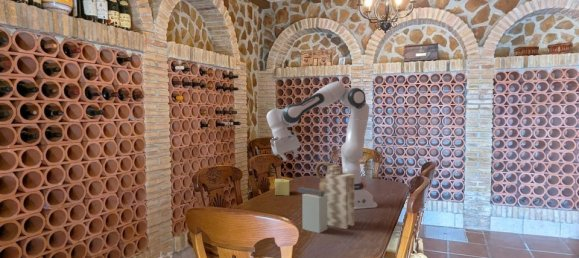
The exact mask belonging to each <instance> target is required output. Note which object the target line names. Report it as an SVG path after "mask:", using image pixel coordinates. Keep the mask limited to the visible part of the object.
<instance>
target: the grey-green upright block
mask: <svg viewBox="0 0 579 258" xmlns="http://www.w3.org/2000/svg"><path fill="white" fill-rule="evenodd" d="M301 195H302V197H301V198H302V199H301V200H302V206H301V208H302V209H301V210H302V212H301V213H302V215H301V216H302V217H301V218H302V224H301V225H302V226H301V227H302V230H305V231H310V232H313V233H318V234H320V233H321V234H322V233H323V232H325V231H326V230H328V225H327V195H323V196H317V195H311V194H306V193H302V194H301Z"/></svg>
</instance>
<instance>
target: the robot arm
mask: <svg viewBox="0 0 579 258" xmlns="http://www.w3.org/2000/svg"><path fill="white" fill-rule="evenodd" d="M337 101H338V103H340V105H343V106H346V107H350V113H349V115H350V116H349V119H348V124H347V127H346V135H345V136H346V137H345V142H344V143H343V144H342V146H341V149H340V150H341V151H340V152H341V155H340V156H341V166H342V168H341V171H342V172H341V173H349V174H354V210H359V209H360V210H361V209H370V208H371V209H372V208H377V207H378V203H377V202H375V201H374V197H373V195H372V193H370V192H369V191H368V190H366V189H365V188H366V187H367V184H365V183H363V182H361V181H362V180H361V178H362V175H361V173H362V172H361V170H362V169H361V163H360V161H361V160H360V159H361V158H362V157H363V154H364V147H365V146H364V145H365V136H366V132H367V126H368V121H369V115H370V106H369V105H368V103H367V100H366V93H365V91H364V90H363V89H361V88H359V87H345V85H344V84H343V82H341V81H333V82H330V83H328V84H327V85H324V86H322V87H321V88H320V89H318V90H317V91H315V93H313V95H311V96H310V97H309V96H308V98H306V99H304V100H302V101H299V102H298V103H291V104H287V105H286V106H285V107H284V108H283V109H282V108H278V107H275V108H272V109H270V110H269V111H268V112H266V121H267V124H268V127H269V129H270V130H271V134H272V136H273V137H272V138H271V139H270V147H271V150H272V153H273V155H275V156H277V155H279V157H280V158H282V160H283V162H287V161H288V157H287V156H285V153H288V152H291V151H292V152H293V157H294V158H295V159H296V158H298V157H299V154H298V149H299V148H300V147H301V143H300V141H299V138H298V136H297V135H296V134H297V133H296V131H293V130H290V129H288V128H291V127H294V126H296V125H297V124H298V122H299V121H300V120H301V118H302V117H303V115H304V114H305V113H307V112H309V111H310V110H312V109H314V108H317V107H318V108H321V109H323V108H326V107H328V106H330V105H333V104H334V103H336V102H337Z"/></svg>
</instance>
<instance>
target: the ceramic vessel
mask: <svg viewBox="0 0 579 258" xmlns="http://www.w3.org/2000/svg"><path fill="white" fill-rule="evenodd" d="M332 165H338V164H337V163H333V162H332V163H330V162H327V161H321V162H319V163H317V164H316V165H315V169H314V172H315V174H316V175H315V176H316V177H317V179H319V183H318V190H322V191H324V195H326V177H323V176H322V175H321V173H320V168H321V167H323V166H324V167H326V168H327V167H328V166H332Z"/></svg>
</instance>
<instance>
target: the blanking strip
mask: <svg viewBox="0 0 579 258" xmlns="http://www.w3.org/2000/svg"><path fill="white" fill-rule="evenodd" d="M297 193H301V194H311V195H317V196H323V195H324V191H322V190H319V189H315V188H308V187H302V186H301V187H298V188H297Z"/></svg>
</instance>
